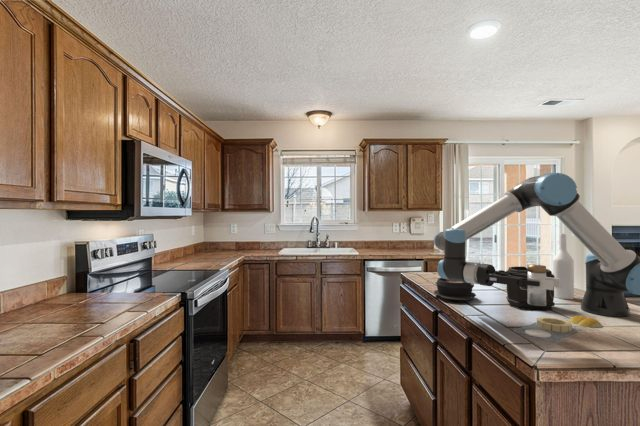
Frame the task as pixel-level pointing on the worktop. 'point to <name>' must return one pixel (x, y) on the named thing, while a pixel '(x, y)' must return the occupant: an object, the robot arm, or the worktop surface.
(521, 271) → the labelled black crock
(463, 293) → the casserole
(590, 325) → the bread roll
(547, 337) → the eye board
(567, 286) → the bottle
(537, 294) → the jar with brown lid
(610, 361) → the worktop surface
